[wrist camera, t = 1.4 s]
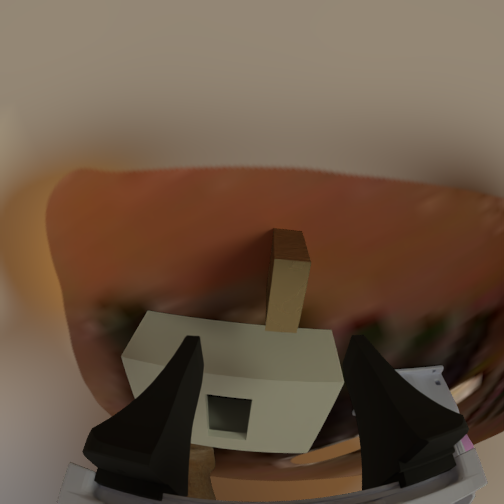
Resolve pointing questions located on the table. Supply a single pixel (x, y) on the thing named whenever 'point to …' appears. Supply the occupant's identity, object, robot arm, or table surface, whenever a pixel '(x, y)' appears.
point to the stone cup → (201, 472)
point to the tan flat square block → (286, 281)
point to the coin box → (245, 380)
